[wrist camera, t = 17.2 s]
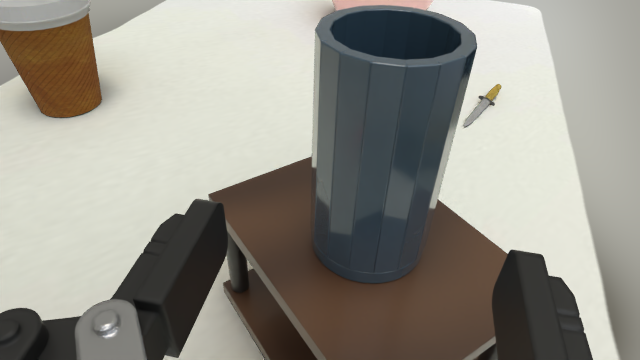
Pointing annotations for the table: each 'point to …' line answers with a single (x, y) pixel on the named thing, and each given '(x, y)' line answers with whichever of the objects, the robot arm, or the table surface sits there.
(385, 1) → the piggy bank
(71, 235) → the table surface
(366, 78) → the pen cup
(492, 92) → the dagger
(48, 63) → the disposable coffee cup
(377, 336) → the desk rack
